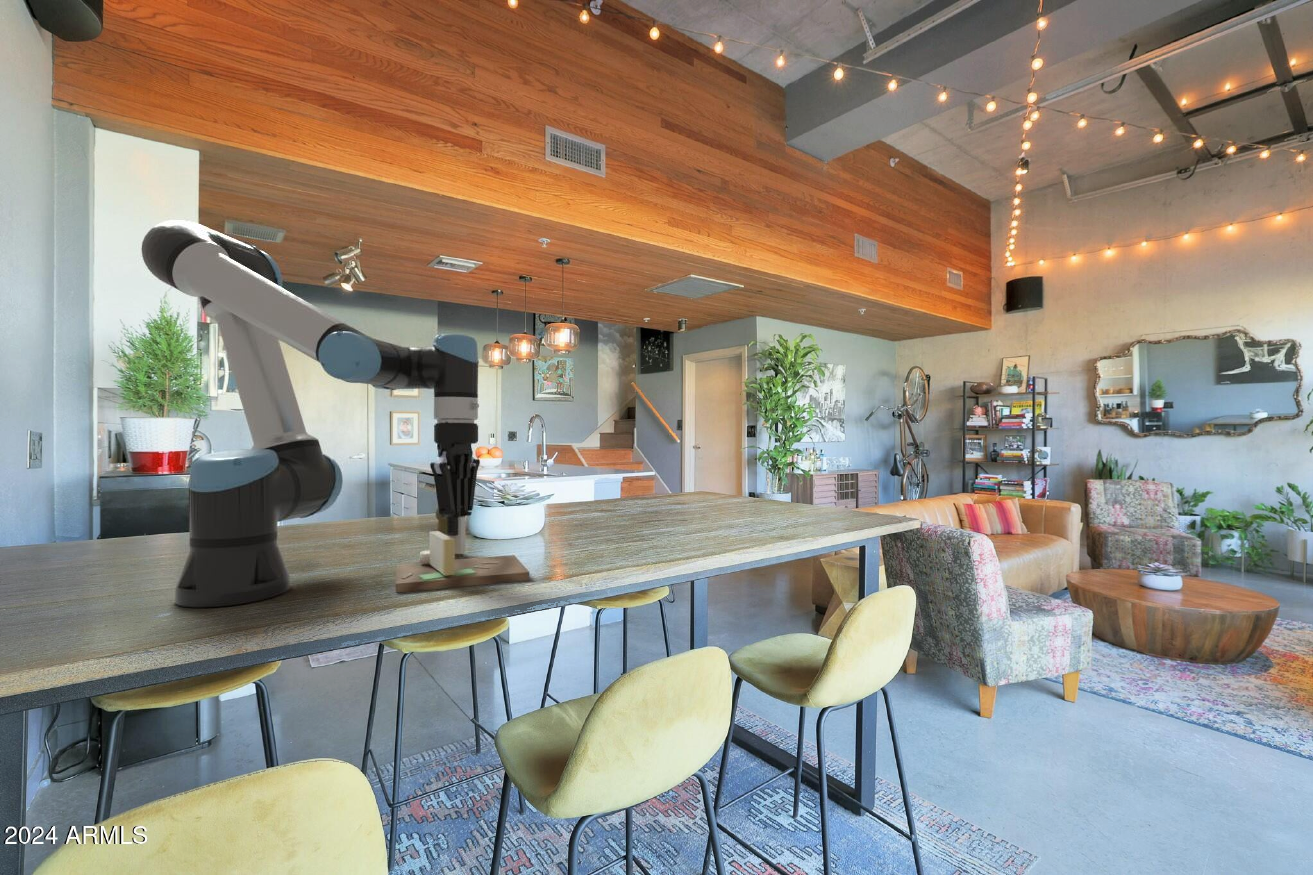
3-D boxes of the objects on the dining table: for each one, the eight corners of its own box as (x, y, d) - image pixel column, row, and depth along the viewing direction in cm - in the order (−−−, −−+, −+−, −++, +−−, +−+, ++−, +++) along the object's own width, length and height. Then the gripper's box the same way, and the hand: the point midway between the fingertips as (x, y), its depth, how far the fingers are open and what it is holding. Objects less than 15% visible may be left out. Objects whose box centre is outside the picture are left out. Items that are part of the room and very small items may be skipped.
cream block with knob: (417, 560, 112) (417, 528, 112) (439, 558, 115) (439, 527, 115) (437, 576, 100) (437, 540, 100) (461, 573, 102) (461, 538, 102)
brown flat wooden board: (395, 592, 97) (395, 582, 97) (396, 571, 112) (397, 563, 112) (529, 580, 106) (529, 571, 106) (514, 562, 121) (514, 554, 121)
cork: (453, 558, 124) (453, 506, 124) (427, 557, 125) (427, 505, 125) (468, 553, 130) (468, 503, 130) (443, 551, 131) (443, 502, 131)
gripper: (455, 421, 99) (456, 561, 99) (492, 422, 111) (492, 546, 112) (415, 421, 100) (416, 559, 100) (456, 422, 113) (456, 544, 113)
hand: (456, 552), depth 106 cm, fingers closed
